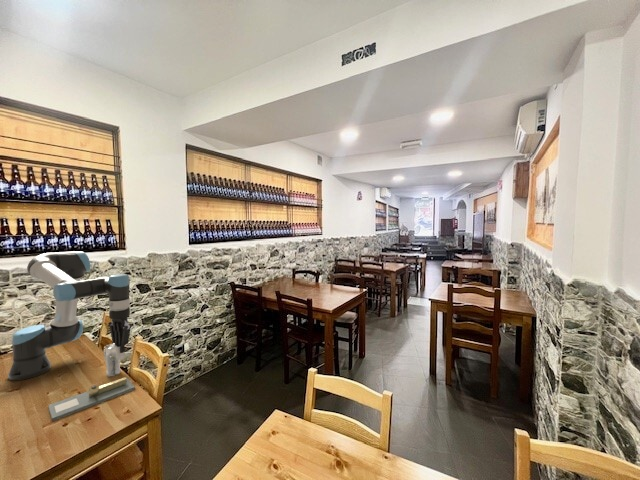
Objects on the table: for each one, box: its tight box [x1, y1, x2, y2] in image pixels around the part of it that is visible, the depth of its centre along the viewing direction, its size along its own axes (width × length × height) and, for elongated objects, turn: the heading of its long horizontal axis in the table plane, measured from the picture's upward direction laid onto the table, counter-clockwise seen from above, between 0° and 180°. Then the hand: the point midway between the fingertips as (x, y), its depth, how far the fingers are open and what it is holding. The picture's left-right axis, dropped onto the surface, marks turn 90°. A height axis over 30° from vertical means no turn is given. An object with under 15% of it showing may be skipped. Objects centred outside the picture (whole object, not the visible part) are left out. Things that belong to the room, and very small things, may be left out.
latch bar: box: [88, 377, 127, 397], centre depth 125 cm, size 4×14×4 cm, turn 140°
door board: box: [48, 377, 136, 422], centre depth 121 cm, size 12×28×1 cm, turn 140°
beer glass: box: [103, 343, 122, 378], centre depth 140 cm, size 7×7×15 cm
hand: (120, 358), depth 124 cm, fingers closed
